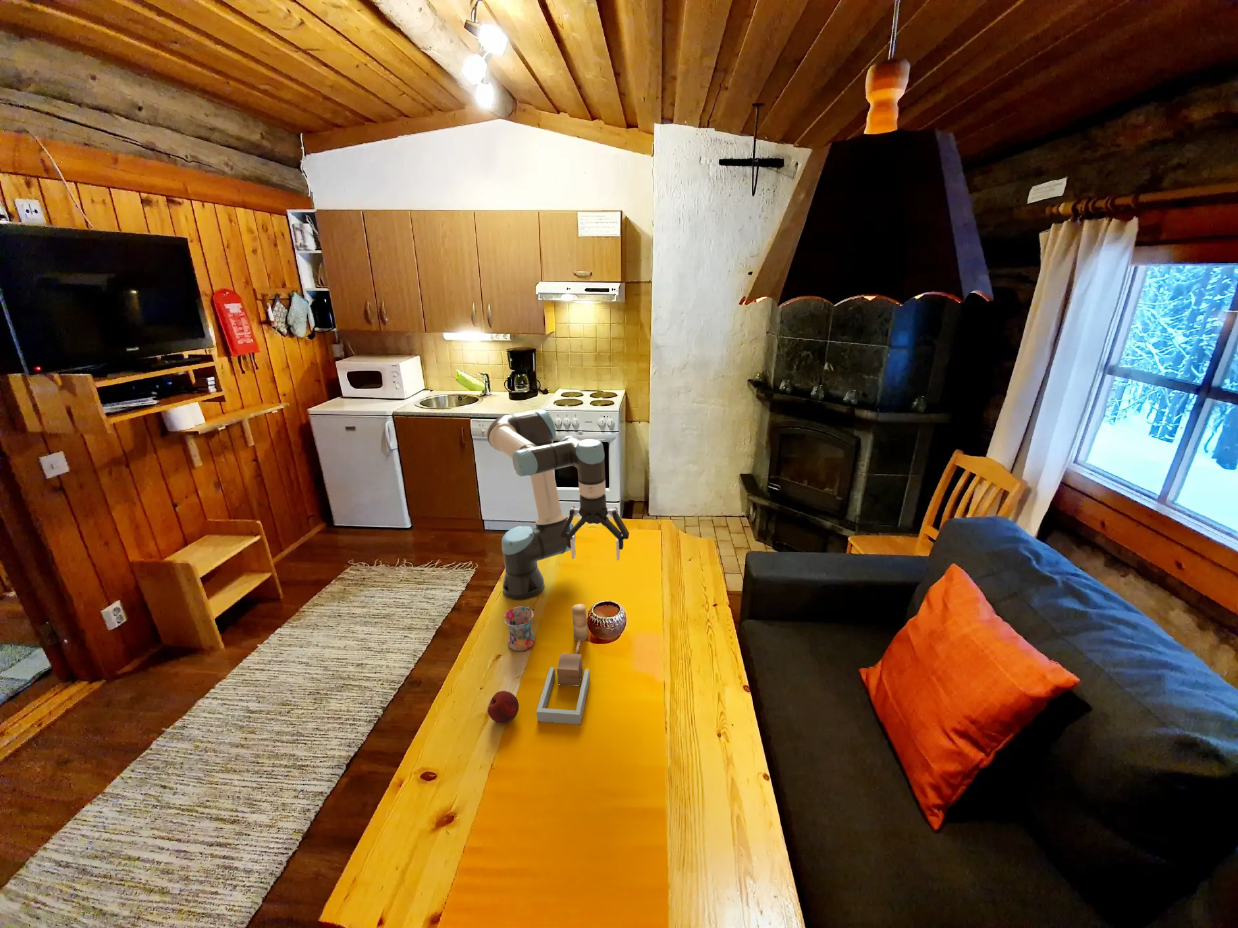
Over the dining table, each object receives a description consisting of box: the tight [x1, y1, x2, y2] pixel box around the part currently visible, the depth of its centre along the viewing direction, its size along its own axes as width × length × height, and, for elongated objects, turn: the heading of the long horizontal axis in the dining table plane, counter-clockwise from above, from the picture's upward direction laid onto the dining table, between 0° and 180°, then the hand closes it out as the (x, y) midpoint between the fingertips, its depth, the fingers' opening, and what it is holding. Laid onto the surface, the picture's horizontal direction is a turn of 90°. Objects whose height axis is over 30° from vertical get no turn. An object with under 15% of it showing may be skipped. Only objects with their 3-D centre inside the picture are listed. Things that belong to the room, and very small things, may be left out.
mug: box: [502, 605, 536, 652], centre depth 153 cm, size 12×9×11 cm
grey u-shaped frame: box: [535, 666, 591, 725], centre depth 132 cm, size 15×11×4 cm
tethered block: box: [556, 603, 589, 686], centre depth 145 cm, size 22×6×11 cm, turn 174°
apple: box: [487, 690, 520, 725], centre depth 127 cm, size 7×8×8 cm
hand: (596, 557), depth 146 cm, fingers open, 13 cm apart
